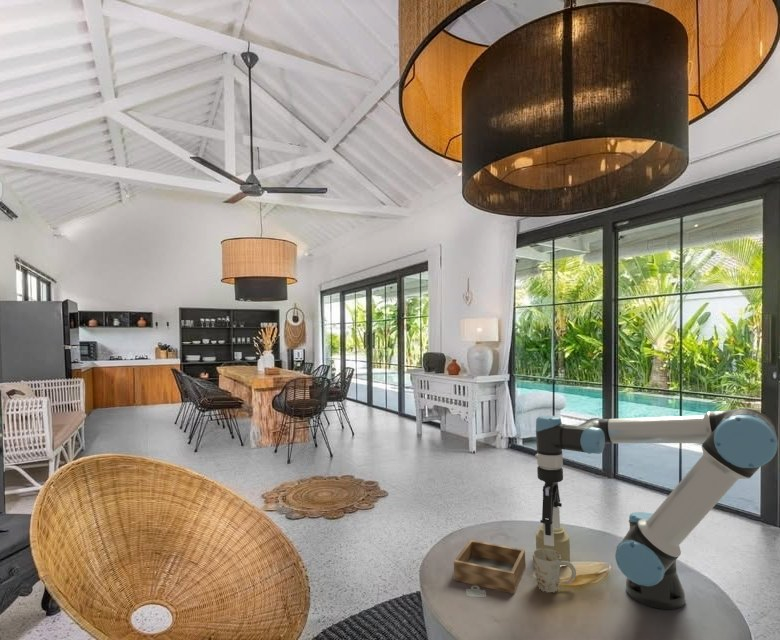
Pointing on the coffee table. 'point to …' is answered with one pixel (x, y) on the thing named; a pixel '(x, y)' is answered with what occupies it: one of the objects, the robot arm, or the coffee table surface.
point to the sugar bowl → (555, 542)
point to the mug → (549, 569)
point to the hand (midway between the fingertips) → (552, 536)
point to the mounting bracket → (475, 592)
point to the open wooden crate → (490, 566)
